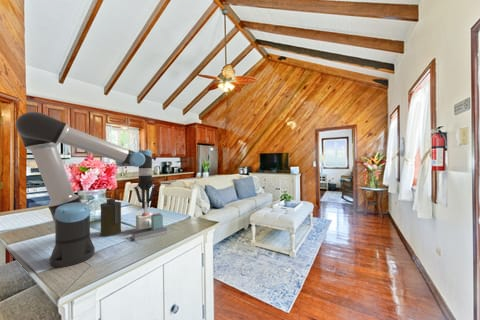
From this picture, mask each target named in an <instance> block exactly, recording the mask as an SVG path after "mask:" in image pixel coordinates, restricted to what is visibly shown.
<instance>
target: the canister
mask: <svg viewBox="0 0 480 320" xmlns="http://www.w3.org/2000/svg"><path fill="white" fill-rule="evenodd" d="M99 205H100V233H99V235H100V236H101V237H111V236H115V235H118V234H120V233H121V232H122V201H121V202H120V201H116V199H115V198H107V199H106V202H103V203H101V204H99Z"/></svg>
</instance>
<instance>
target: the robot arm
mask: <svg viewBox="0 0 480 320" xmlns="http://www.w3.org/2000/svg"><path fill="white" fill-rule="evenodd" d="M15 129H16V130H17V132H18V134H19V136H20V137H19V138H20V139H21V141H22V144H23V147H24V148H25V149H27V150H29V151H31V154H32V156H33V158H34V162H35V164H36V166H37V169H38V172H39V174H40V176H41V179H42V182H43V183H44V187H45V190H46V191H47V194H48V197H49V199H50V201H49V203H48V204H47V206H48V210H49V211H50V214H51V217H52V220H53V222H54V227H55V229H54V230H55V231H54V233H55V236H54V237H55V242H54V243H55V244H54V247H53V249H52V252H51V254H50V257H49V266H51V267H53V268H62V267H63V268H64V267H68V266H73V265H74V266H75V265H77V264H80V263H83V262H85V261H87V260H90V259H91V258H92V257H93V256H94V255H95V252H96V251H95V250H96V249H95V246H94V243H93V241H92V239H91V218H90V217H91V208H90V205H89V203H86V202H82V200H81V198H80V195H78V194H75V193H74V189H73V188H72V185H71V181H70V179H69V176H68V174H67V171H66V167H65V164H64V163H63V160H62V157H61V155H60V151H59V149H58V146H59V144H63V145H67V146H70V147H73V148H75V149H79V150H82V151H84V152H85V151H86V152H87V153H90V154H91V153H92V154H94V155H98V156H100V157H103V158H107V159H110V160H111V161H115V165H116V166H118V167H135V168H138V183H137V185H136V186H134V187H133V189H134V191H135V193H136V198H137V201H138V202H139V203H141V208H142V209H143V213H145V214H146V213H148V208H150V203H151V202H152V201H153V199H154V195H155V191H156V189H157V185H155V184H154V183H153V175H152V174H153V152H152V150H150V149H139V150H138V151H133V150H131V149H128V148H127V147H126V148H125V147H123V146H121V145H118V144H116V143H112V142H110V141H108V140H106V139H105V140H104V139H102V138H99V137H97V136H93V135H91V134H88V133H86V132H83V131H81V130H79V129H75V128H73V127H70V126H69V124H68V123H67V122H64V121H62V120H59V119H57V118H54V117H52V116H50V115H48V114H45V113H43V112H38V111H29V112H25V113H23V114H21V115H20V116H18V118H17V119H16V121H15ZM139 189H140V190H139ZM150 189H151V190H150ZM140 191H141V194H140Z"/></svg>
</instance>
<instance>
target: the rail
mask: <svg viewBox="0 0 480 320" xmlns="http://www.w3.org/2000/svg"><path fill="white" fill-rule="evenodd" d="M165 234H168V227H163V228H161V229H156V230H151V227H149V228H144V229H140V230H136V229H135V230H131V238H132V240H134V241H135V242H137V241H140V240H145V239H149V238H153V237H157V236H161V235H165Z"/></svg>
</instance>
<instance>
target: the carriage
mask: <svg viewBox="0 0 480 320" xmlns="http://www.w3.org/2000/svg"><path fill="white" fill-rule="evenodd" d="M163 216H164V215H163V214H162V213H160V212H157V213H153V214H152V215H151V230H156V229H161V228H164V224H163V222H164V221H163V219H164V218H163Z"/></svg>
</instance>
